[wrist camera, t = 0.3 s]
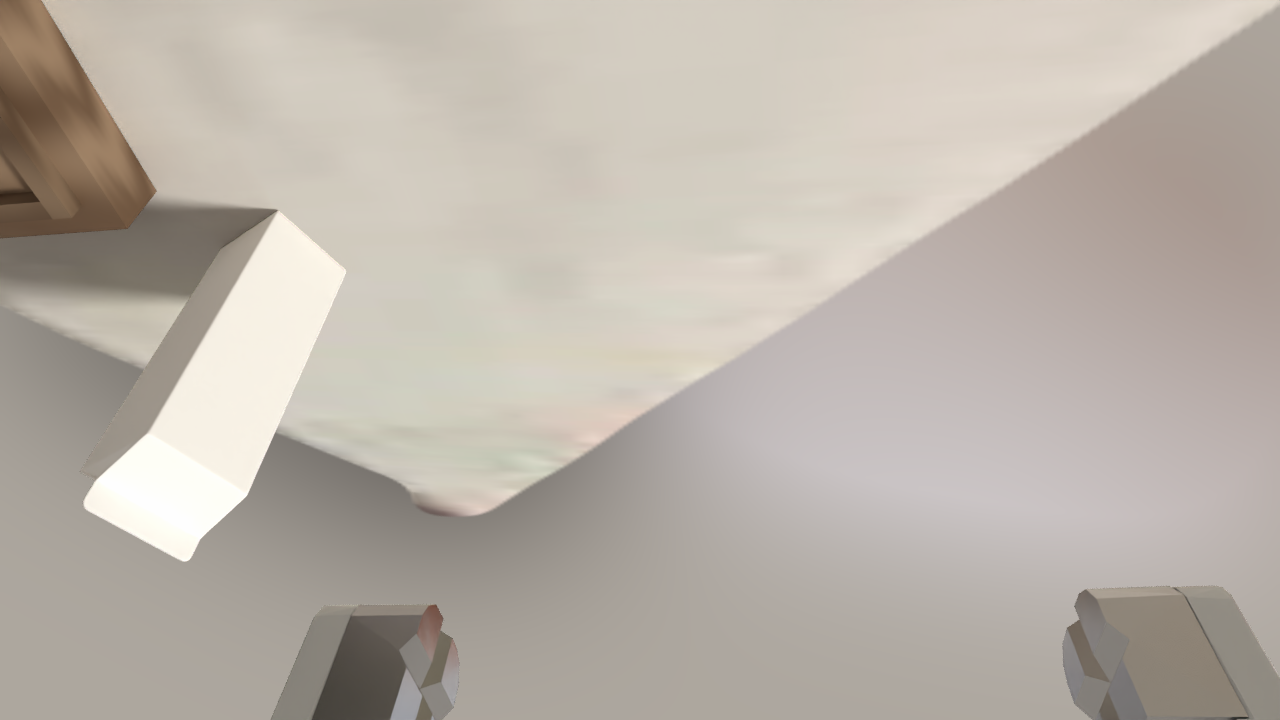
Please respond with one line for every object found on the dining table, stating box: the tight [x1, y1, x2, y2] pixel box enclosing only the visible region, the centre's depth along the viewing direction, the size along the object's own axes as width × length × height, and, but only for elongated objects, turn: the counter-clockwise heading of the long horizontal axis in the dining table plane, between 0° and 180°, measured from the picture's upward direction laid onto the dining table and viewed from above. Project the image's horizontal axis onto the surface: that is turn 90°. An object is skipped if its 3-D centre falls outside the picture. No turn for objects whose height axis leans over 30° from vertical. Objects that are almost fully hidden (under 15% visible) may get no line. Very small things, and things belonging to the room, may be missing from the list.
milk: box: [80, 211, 346, 561], centre depth 49 cm, size 6×6×22 cm
